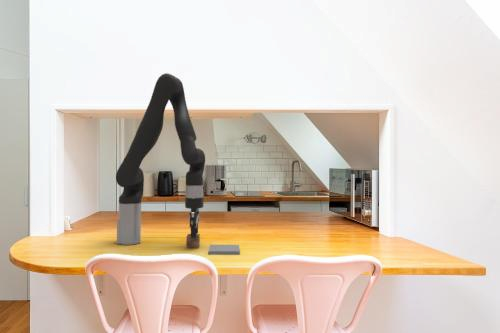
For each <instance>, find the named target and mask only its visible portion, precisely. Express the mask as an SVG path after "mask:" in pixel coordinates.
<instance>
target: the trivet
mask: <svg viewBox="0 0 500 333" xmlns="http://www.w3.org/2000/svg"><path fill="white" fill-rule="evenodd" d="M208 247H209V248H208V255H240V254H241V251H240V250H241V249H240V244H209V246H208Z"/></svg>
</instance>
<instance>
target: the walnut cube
mask: <svg viewBox="0 0 500 333" xmlns="http://www.w3.org/2000/svg"><path fill="white" fill-rule="evenodd" d="M185 240H186V244H185V246H186V247H185V249H199V248H200V247H201V246H200V245H201V244H200V242H201V235H200V233H197V234H196V237H195V238H191V233H188V234H187V235H186V239H185Z"/></svg>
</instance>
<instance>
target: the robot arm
mask: <svg viewBox="0 0 500 333" xmlns="http://www.w3.org/2000/svg"><path fill="white" fill-rule="evenodd" d="M185 95H186V94H185V88H184V85H183V82H182V81H181V79H180V78H178V77H176V76H175V75H173V74H172V73H171V74H170V73H168V72H165V73H162V74H161V75H160V76H159V77H158V78H157V80H156V82H155V84H154V88H153V92H152V93H151V98H150V100H149V103H148V105H147V107H146V110H145V112H144V115H143V117H142V118H141V121H140V123H139V125H138V127H137V130H136V132H135V135H134V138H133V140H132V141H131V144H130V147H129V148H128V151H127V153H126V155H125V157H124V158H123V160H122V162H121V164H120V165H119V167H118V169H117V170H116V174H115V181H116V183H117V185H118V186H119V187H121V188H123V191H122V193H121V194H120V196H119V198H118V220H117V221H116V244H117V245H123V246H124V245H125V246H126V245H127V246H128V245H130V246H131V245H137V244H140V243H141V241H142V240H141V238H142V237H141V236H142V234H141V231H142V199H143V196H144V184H145V175H144V171H143V170H142V168H141V167H140V166H141V164H142V162H143V161H144V159H145V157H146V156H147V155H148V154H149V153H150V152H151V151H152V149H153V148H154V147H155V145H156V143H157V142H158V140H159V138H160V135H161V133H162V130H163V126H164V117H165V116H164V115H165V110H166V107H167V105H168V103H169V102H170V104H171V106H172V111H173V114H174V116H173V117H174V126H175V127H174V128H175V130H176V133H177V136H178V139H179V143H180V153H181V157H182V160H183V162H185V164H187V165H188V166H189V168H188V171H187V172H186V174H185V189H184V194H185V195H184V204H185V205H184V206H185V207H184V208H186V209H190V212H189V213H188V217H189V229H190V234H191V238H195V237H196V234H199V223H200V222H199V221H200V209H202V208H204V182H203V179H204V177H203V176H204V175H203V174H204V171H205V165H206V154H205V152H204V150H202V149H200V148H199V147H198V148H197V146H196V141H197V135H196V131H195V129H194V125H193V123H192V120H191V117H190V113H189V111H188V110H189V109H188V106H187V100H186V96H185Z"/></svg>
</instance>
